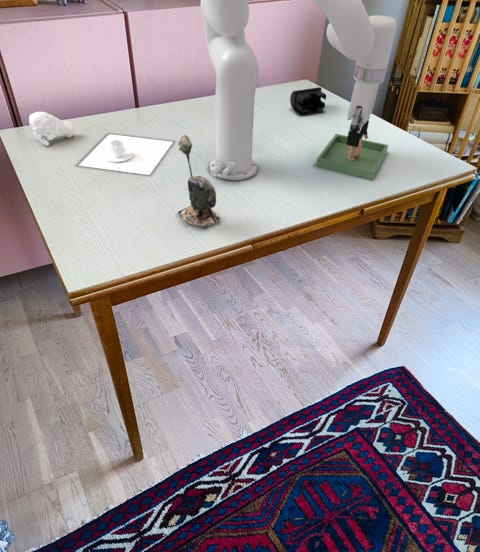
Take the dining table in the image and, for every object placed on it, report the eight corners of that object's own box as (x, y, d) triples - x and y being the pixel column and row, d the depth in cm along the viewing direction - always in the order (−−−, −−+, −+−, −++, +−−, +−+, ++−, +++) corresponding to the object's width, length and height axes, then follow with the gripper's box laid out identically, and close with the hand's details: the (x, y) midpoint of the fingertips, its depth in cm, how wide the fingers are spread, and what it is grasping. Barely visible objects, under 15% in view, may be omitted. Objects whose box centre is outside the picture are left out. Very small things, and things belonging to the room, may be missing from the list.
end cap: (314, 104, 160) (316, 84, 155) (325, 112, 155) (328, 91, 151) (288, 108, 157) (290, 88, 152) (299, 116, 152) (301, 95, 147)
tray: (372, 179, 122) (374, 171, 120) (315, 166, 127) (317, 158, 125) (386, 152, 134) (388, 145, 132) (334, 141, 139) (335, 133, 137)
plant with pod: (194, 238, 101) (190, 153, 87) (175, 211, 108) (169, 130, 95) (227, 228, 104) (228, 145, 90) (207, 203, 111) (205, 123, 98)
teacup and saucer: (112, 147, 132) (109, 133, 129) (138, 150, 131) (136, 136, 128) (98, 161, 125) (96, 147, 123) (126, 165, 124) (124, 150, 121)
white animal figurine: (25, 109, 128) (69, 105, 134) (30, 139, 134) (72, 134, 139) (30, 117, 124) (75, 113, 130) (36, 147, 130) (79, 142, 135)
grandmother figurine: (354, 151, 133) (363, 107, 125) (365, 156, 131) (375, 112, 123) (338, 159, 129) (346, 115, 121) (350, 164, 127) (359, 120, 119)
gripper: (363, 60, 122) (351, 125, 133) (345, 80, 110) (333, 149, 122) (392, 65, 119) (377, 130, 131) (376, 86, 108) (361, 155, 119)
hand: (356, 139), depth 126 cm, fingers open, 7 cm apart
